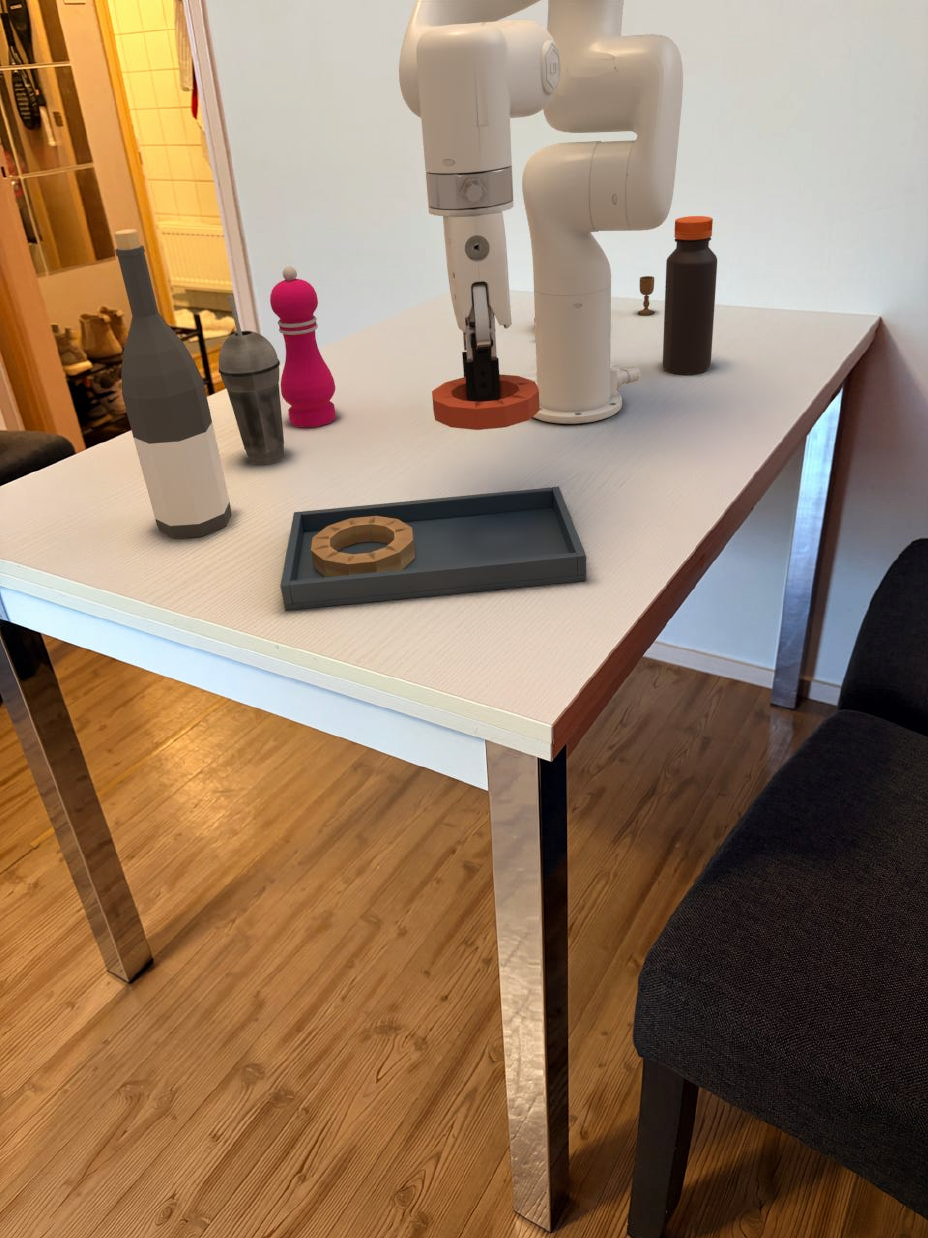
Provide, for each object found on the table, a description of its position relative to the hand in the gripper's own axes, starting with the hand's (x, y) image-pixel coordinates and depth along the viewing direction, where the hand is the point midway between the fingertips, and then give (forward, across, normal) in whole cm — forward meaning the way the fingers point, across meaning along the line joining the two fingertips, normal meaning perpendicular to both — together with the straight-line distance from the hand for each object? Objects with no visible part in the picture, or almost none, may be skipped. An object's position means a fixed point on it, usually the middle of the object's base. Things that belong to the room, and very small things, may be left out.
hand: (482, 394), depth 93 cm
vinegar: (+13, +43, -32) cm, 55 cm away
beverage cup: (+13, +23, +26) cm, 37 cm away
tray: (+13, -7, +6) cm, 16 cm away
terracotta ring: (0, -4, 0) cm, 4 cm away
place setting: (+13, +69, -24) cm, 74 cm away
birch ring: (+13, -7, +13) cm, 19 cm away
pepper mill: (+13, +36, +21) cm, 44 cm away
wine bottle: (+14, +6, +32) cm, 35 cm away
